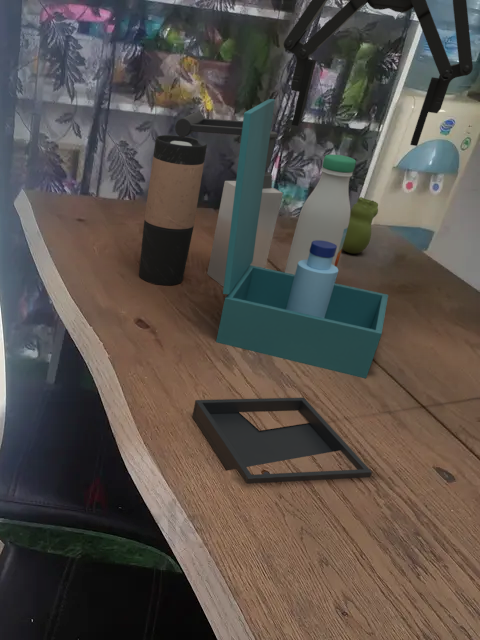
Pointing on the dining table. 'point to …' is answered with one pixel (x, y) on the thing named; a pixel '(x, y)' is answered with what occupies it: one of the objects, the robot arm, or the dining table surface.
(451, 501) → the dining table surface
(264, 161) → the lid
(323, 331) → the teal box
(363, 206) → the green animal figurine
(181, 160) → the travel mug
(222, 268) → the soap dispenser
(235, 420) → the tray
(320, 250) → the water bottle
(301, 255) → the milk bottle
